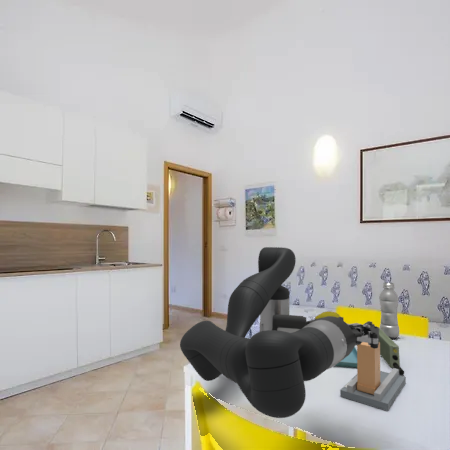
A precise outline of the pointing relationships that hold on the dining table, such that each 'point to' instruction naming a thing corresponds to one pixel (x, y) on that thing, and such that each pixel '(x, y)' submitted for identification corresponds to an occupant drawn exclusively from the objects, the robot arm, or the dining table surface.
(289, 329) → the card reader
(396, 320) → the plastic bottle
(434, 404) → the dining table surface
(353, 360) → the rectangular tray
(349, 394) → the grey slotted base
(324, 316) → the lemon
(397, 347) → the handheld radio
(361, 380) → the switch tab
